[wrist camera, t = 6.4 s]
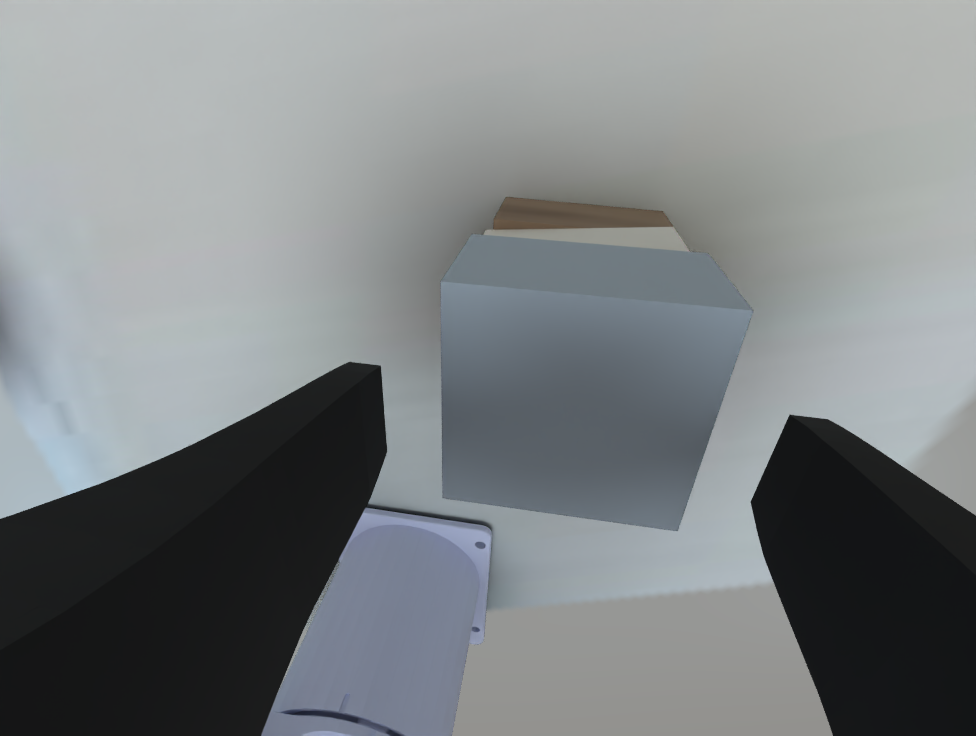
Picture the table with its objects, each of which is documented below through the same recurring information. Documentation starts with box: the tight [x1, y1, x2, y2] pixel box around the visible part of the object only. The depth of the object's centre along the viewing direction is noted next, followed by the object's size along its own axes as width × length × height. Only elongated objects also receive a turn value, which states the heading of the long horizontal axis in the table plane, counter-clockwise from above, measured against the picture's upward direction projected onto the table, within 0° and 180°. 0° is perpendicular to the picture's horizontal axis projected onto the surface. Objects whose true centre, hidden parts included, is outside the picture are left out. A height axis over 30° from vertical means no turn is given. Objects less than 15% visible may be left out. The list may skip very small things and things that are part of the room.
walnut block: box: [493, 197, 677, 232], centre depth 16 cm, size 5×5×3 cm
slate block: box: [441, 234, 753, 531], centre depth 10 cm, size 5×5×3 cm
